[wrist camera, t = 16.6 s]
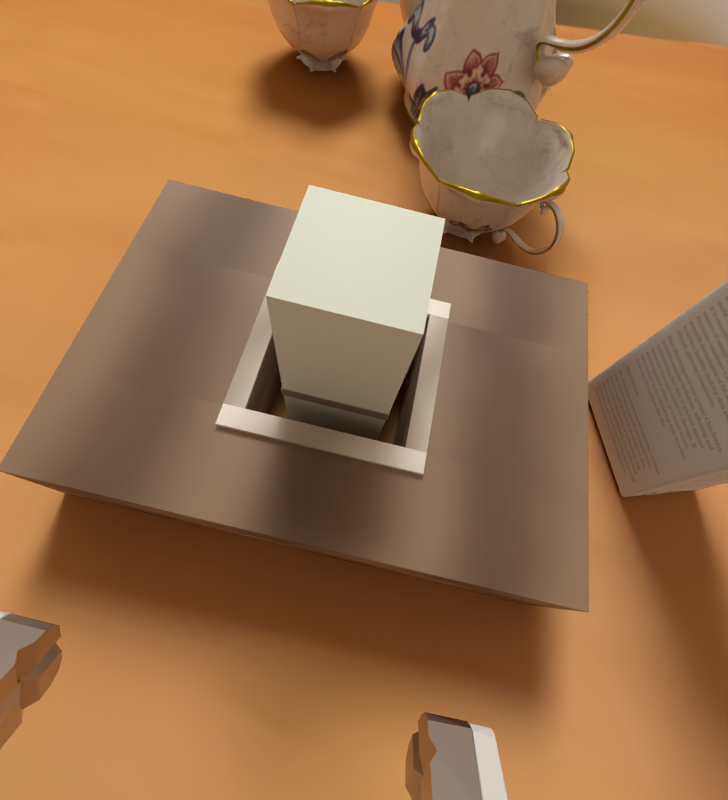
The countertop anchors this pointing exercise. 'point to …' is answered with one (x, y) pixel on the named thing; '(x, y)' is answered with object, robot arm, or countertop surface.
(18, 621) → the robot arm
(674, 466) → the skincare box
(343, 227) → the sage peg
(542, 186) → the chinaware
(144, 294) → the socket board
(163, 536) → the countertop surface
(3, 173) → the countertop surface
